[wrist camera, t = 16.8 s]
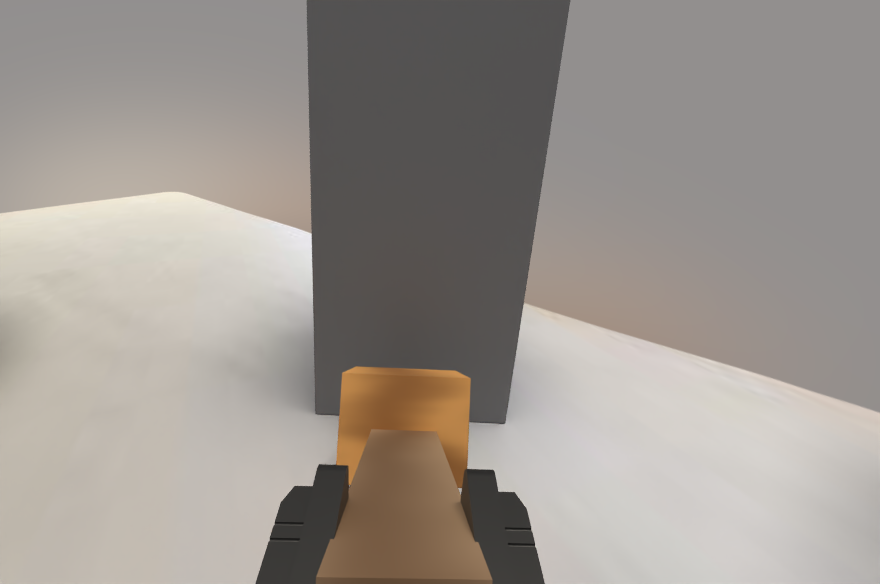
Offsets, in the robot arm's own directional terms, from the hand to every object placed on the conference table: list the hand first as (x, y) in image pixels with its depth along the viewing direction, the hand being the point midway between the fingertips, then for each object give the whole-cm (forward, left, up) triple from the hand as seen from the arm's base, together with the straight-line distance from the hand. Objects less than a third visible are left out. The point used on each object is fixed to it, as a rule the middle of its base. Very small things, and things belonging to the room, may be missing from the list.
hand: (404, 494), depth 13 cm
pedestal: (+14, -25, -14) cm, 31 cm away
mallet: (+2, -4, -6) cm, 7 cm away
